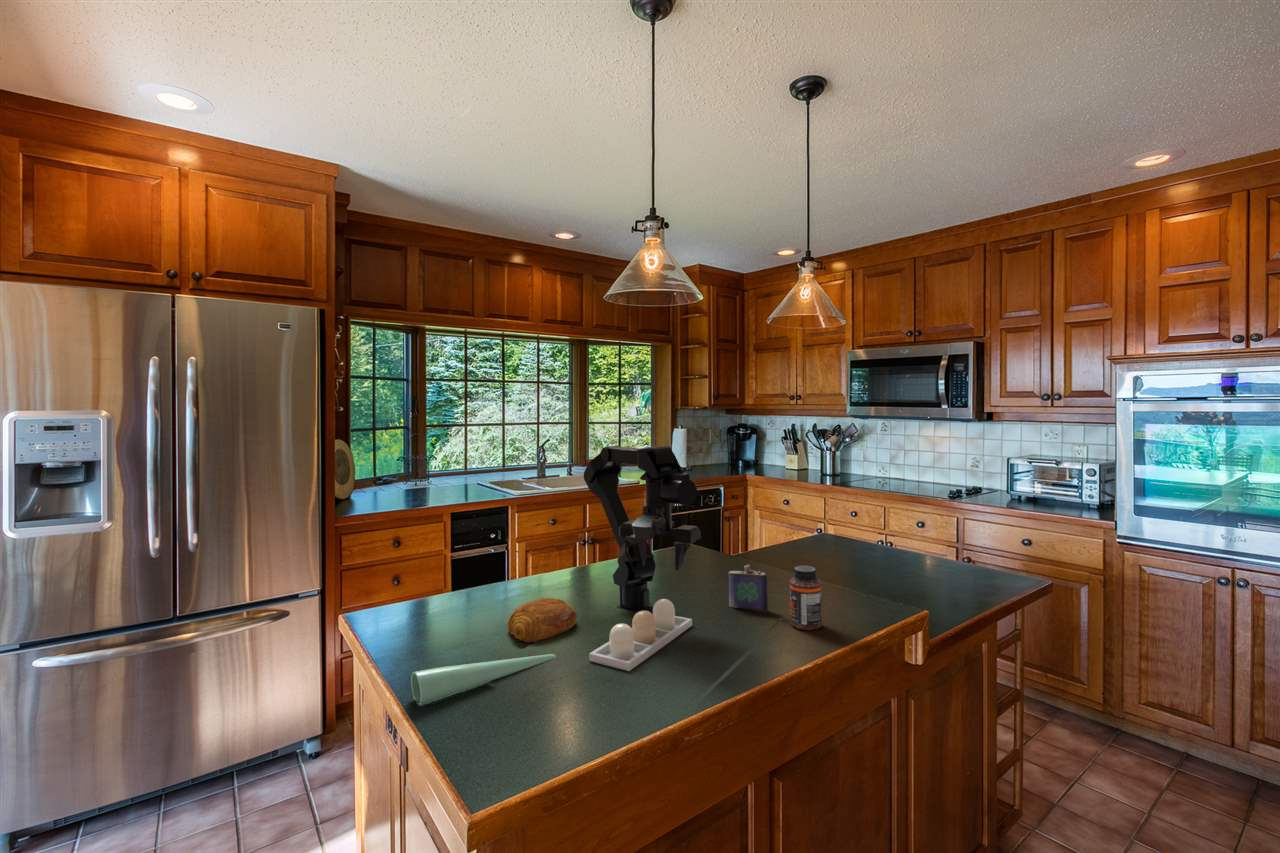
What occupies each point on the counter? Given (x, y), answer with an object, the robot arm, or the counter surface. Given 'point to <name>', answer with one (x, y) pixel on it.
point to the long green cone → (466, 676)
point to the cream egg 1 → (621, 642)
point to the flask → (748, 589)
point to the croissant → (541, 619)
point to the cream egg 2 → (664, 614)
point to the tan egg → (644, 627)
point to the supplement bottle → (805, 599)
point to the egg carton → (640, 647)
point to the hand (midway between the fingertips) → (660, 568)
